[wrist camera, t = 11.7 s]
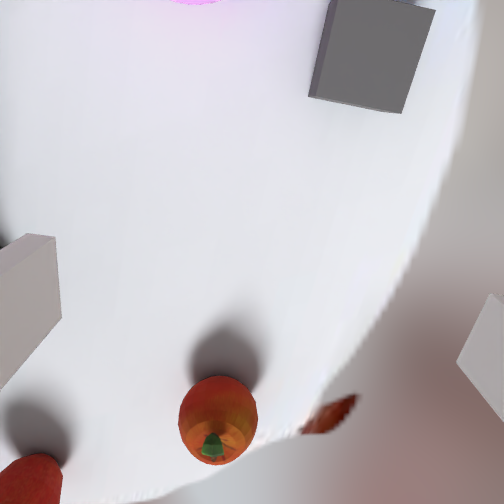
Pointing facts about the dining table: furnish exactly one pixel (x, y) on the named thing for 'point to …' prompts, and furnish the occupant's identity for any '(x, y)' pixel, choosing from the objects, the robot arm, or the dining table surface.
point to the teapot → (196, 1)
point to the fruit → (218, 420)
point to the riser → (370, 53)
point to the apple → (31, 481)
